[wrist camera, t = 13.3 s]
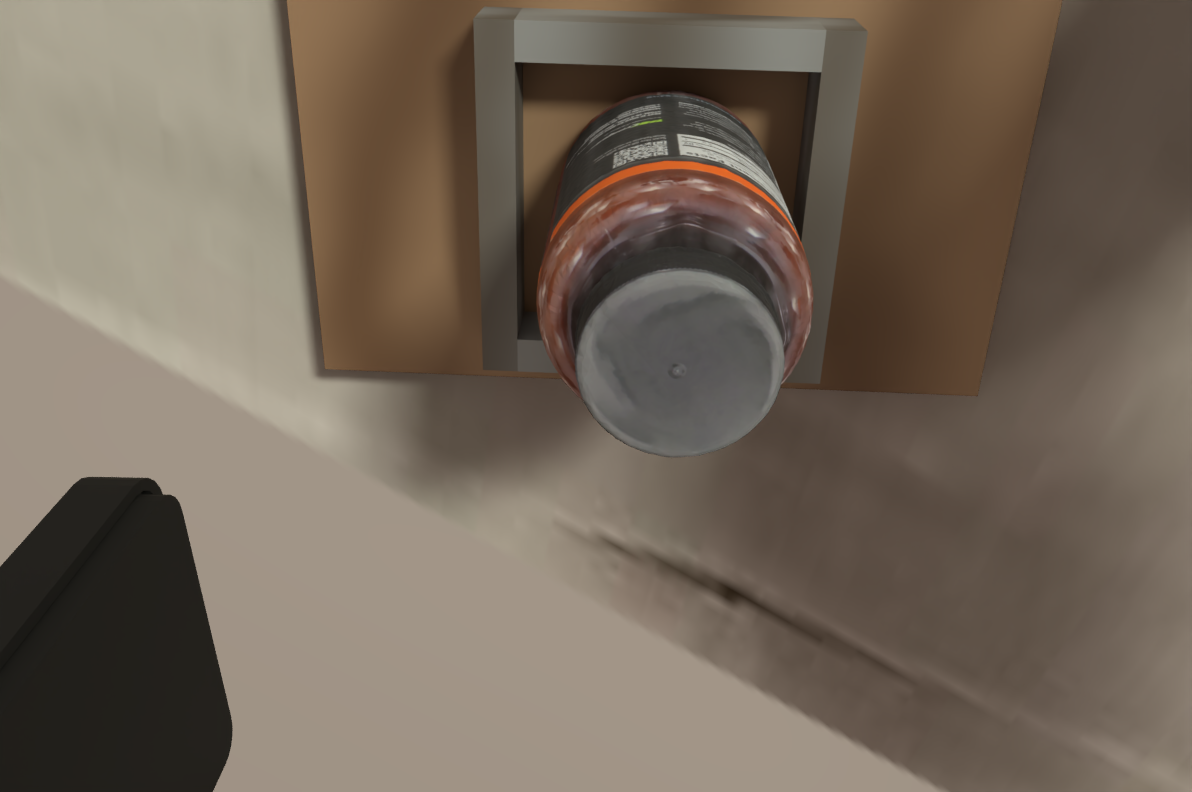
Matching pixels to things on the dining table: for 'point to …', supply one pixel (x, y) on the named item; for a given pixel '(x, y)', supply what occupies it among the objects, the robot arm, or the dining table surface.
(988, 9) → the cap board
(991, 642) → the dining table surface
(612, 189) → the supplement bottle
